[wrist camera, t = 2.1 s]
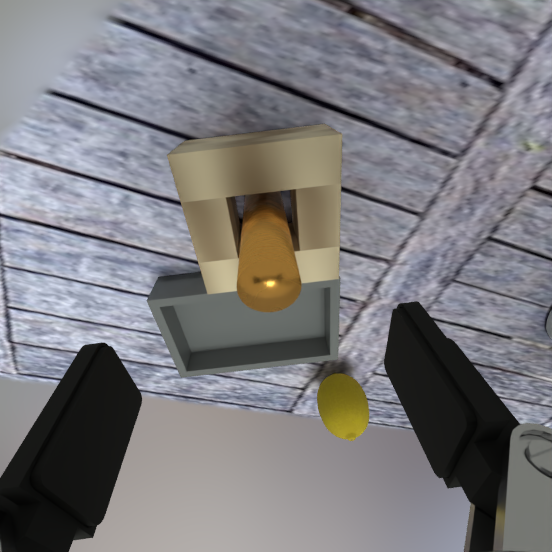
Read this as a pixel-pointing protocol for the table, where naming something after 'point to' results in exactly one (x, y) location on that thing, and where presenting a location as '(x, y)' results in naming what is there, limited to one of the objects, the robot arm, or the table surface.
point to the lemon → (343, 406)
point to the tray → (243, 327)
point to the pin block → (261, 179)
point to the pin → (267, 255)
